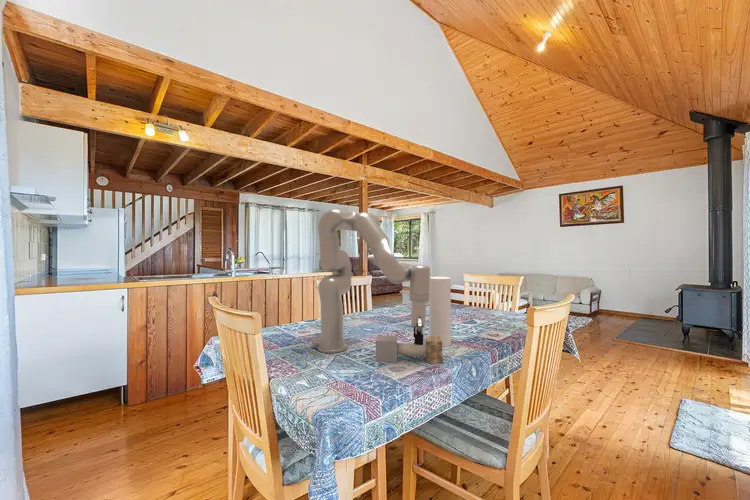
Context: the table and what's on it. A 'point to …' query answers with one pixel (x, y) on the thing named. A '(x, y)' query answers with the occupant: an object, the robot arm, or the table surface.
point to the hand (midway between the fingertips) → (418, 340)
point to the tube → (411, 349)
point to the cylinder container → (440, 308)
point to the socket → (434, 349)
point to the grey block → (386, 349)
